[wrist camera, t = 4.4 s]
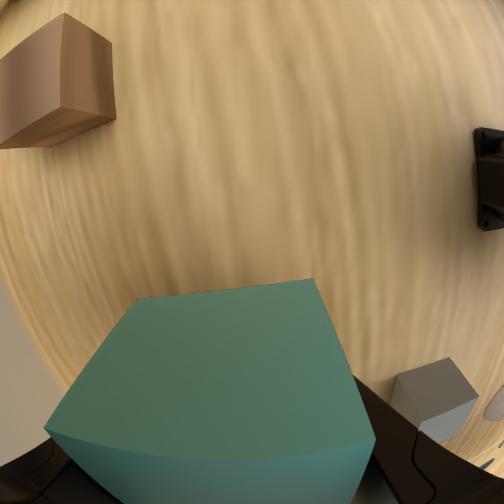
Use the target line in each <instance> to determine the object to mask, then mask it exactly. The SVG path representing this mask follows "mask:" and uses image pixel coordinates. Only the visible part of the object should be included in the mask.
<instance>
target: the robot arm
mask: <svg viewBox="0 0 504 504" xmlns="http://www.w3.org/2000/svg"><path fill="white" fill-rule="evenodd" d="M481 134H482V137H481ZM475 142H476V152H477V165H478V227H479V229H481V230H483V231H490V230H496V229H502V228H504V131H500V130H495V129H489V128H483V127H480V128H476V129H475ZM484 221H485V223H484ZM352 375H353V374H352ZM353 377H354V380H355V382H356V385H357V388H358V390H359V393H360V396H361V398H362V401H363V404H364V407H365V409H366V412H367V415H368V418H369V421H370V423H371V426H372V429H373V432H374V435H375V438H376V441H375V444H374V447H373V450H372V453H371V455H370V458H369V461H368V464H367V466H366V469H365V471H364V474H363V476H362V479H361V481H360V484H359V486H358V488H357V490H356V493H355V495H354V497H353V499H352V501H351V504H504V479H503V478H500V477H497V476H495V475H493V474H491V473H489V472H487V471H485V470H483V469H481V468H479V467H477V466H475V465H473V464H471V463H469V462H468V461H466V460H464V459H462V458H460V457H459V456H457V455H455V454H454V453H452V452H450V451H449V450H447V449H446V448H444V447H443V446H441V445H440V444H438V443H437V442H436V441H434V440H433V439H432V438H430V437H429V436H428V435H426V434H425V433H424V432H423V431H421V430H420V431H419V428H417V427H416V426H415V425H414V424H412V423H411V422H410V421H409V420H407V419H406V418H405V417H404V416H402V415H401V414H400V413H399V412H397V411H396V410H395V409H394V408H393V407H391V406H390V405H389V404H388V403H386V402H385V401H384V400H383V399H382V398H380V397H379V396H378V395H377V394H376V393H374V392H373V391H372V390H371V389H369V388H368V387H367V386H366V385H365V384H363V383H362V382H361V381H360V380H359V379H358V378H356V377H355V376H354V375H353ZM0 504H124V503H123V502H121V501H120V500H119V499H117V498H116V497H115V496H113V495H112V494H111V493H110V492H108V491H107V490H106V489H105V488H103V487H102V486H101V485H100V484H99V483H98V482H96V481H95V480H94V479H93V478H92V477H91V476H90V475H88V474H87V473H86V472H85V471H84V470H83V469H82V468H81V467H80V466H79V465H78V464H77V463H76V462H75V461H74V460H73V459H72V458H71V457H70V456H69V455H68V454H67V453H66V452H65V451H64V450H63V449H62V448H61V447H60V446H59V445H58V444H57V443H56V441H55V440H54V439H53V438H52V437H50V438H49V439H48V440H46V441H45V442H43V443H42V444H40V445H39V446H37V447H36V448H34V449H32V450H31V451H29V452H27V453H25V454H24V455H22V456H20V457H18V458H16V459H14V460H12V461H11V462H9V463H7V464H5V465H3V466H1V467H0Z"/></svg>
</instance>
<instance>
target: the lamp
mask: <svg viewBox="0 0 504 504" xmlns="http://www.w3.org/2000/svg"><path fill="white" fill-rule="evenodd" d="M484 419H486V420H490V421H499V420H503V419H504V386H503V387H502V388H501V389H500V390H499V392H498V393H497V394H496V395H495V397H494V398H493V399H492V401H491V402H490V404H489V405H488V407H487V409H486V411H485V413H484Z"/></svg>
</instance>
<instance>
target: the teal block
mask: <svg viewBox="0 0 504 504" xmlns="http://www.w3.org/2000/svg"><path fill="white" fill-rule="evenodd" d="M44 429H45V430H46V431H47V432H48V434H49V435H50V436H51V437H52V438H53V439H54V440H55V441H56V443H57V444H58V445H59V446H60V447H61V448H62V449H63V450H64V451H65V452H66V453H67V454H68V455H69V456H70V457H71V458H72V459H73V460H74V461H75V462H76V463H77V464H78V465H79V466H80V467H81V468H82V469H83V470H84V471H85V472H86V473H87V474H88V475H90V476H91V477H92V478H93V479H94V480H95V481H96V482H98V483H99V484H100V485H101V486H102V487H103V488H105V489H106V490H107V491H108V492H110V493H111V494H112V495H113V496H115V497H116V498H117V499H119V500H120V501H121V502H123V503H124V504H351V501H352V499H353V497H354V495H355V493H356V490H357V488H358V486H359V484H360V481H361V479H362V476H363V474H364V471H365V469H366V466H367V464H368V461H369V458H370V455H371V453H372V450H373V447H374V444H375V441H376V438H375V435H374V432H373V429H372V426H371V423H370V421H369V418H368V415H367V412H366V409H365V407H364V404H363V401H362V398H361V396H360V393H359V390H358V388H357V385H356V382H355V380H354V377H353V375H352V372H351V369H350V367H349V364H348V362H347V359H346V357H345V354H344V352H343V349H342V347H341V344H340V342H339V339H338V337H337V334H336V332H335V329H334V327H333V324H332V322H331V320H330V317H329V315H328V313H327V310H326V308H325V305H324V303H323V301H322V298H321V296H320V294H319V291H318V289H317V287H316V284H315V282H314V280H313V278H312V279H305V280H298V281H291V282H284V283H276V284H269V285H261V286H253V287H245V288H237V289H229V290H220V291H212V292H203V293H193V294H184V295H174V296H164V297H153V298H142V299H137V300H136V301H135V302H134V303H133V305H132V306H131V307H130V308H129V310H128V311H127V312H126V313H125V315H124V316H123V317H122V319H121V320H120V321H119V322H118V324H117V325H116V326H115V327H114V329H113V330H112V331H111V333H110V334H109V335H108V337H107V338H106V339H105V341H104V342H103V343H102V344H101V346H100V347H99V348H98V350H97V351H96V353H95V354H94V355H93V357H92V358H91V359H90V361H89V362H88V363H87V365H86V366H85V368H84V369H83V370H82V372H81V373H80V374H79V376H78V377H77V379H76V380H75V382H74V383H73V384H72V386H71V387H70V389H69V390H68V392H67V393H66V394H65V396H64V397H63V399H62V400H61V402H60V403H59V405H58V406H57V408H56V409H55V411H54V413H53V414H52V415H51V417H50V419H49V420H48V422H47V423H46V425H45V426H44Z"/></svg>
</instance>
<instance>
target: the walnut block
mask: <svg viewBox="0 0 504 504" xmlns="http://www.w3.org/2000/svg"><path fill="white" fill-rule="evenodd" d="M115 119H116V109H115V98H114V85H113V67H112V43H111V42H109V41H108V40H107V39H105V38H104V37H102V36H101V35H99V34H98V33H96V32H95V31H93V30H92V29H90V28H89V27H87V26H85V25H84V24H82V23H81V22H79V21H78V20H76V19H74V18H73V17H71V16H69V15H68V14H66V13H65V12H64V13H63V14H61V15H60V16H58V17H56V18H55V19H53V20H52V21H50V22H49V23H47V24H46V25H44V26H43V27H41V28H40V29H38V30H37V31H36V32H34V33H33V34H31V35H30V36H29V37H27V38H26V39H25V40H23V41H22V42H21V43H20V44H18V45H17V46H16V47H15V48H13V49H12V50H11V51H10V52H9V53H7V54H6V55H5V56H4V57H3V58H2V59H1V60H0V149H10V148H26V147H51V146H53V145H55V144H57V143H59V142H62V141H64V140H66V139H68V138H70V137H72V136H75V135H77V134H79V133H82V132H84V131H86V130H89V129H91V128H94V127H96V126H99V125H101V124H104V123H107V122H109V121H112V120H115Z"/></svg>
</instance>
